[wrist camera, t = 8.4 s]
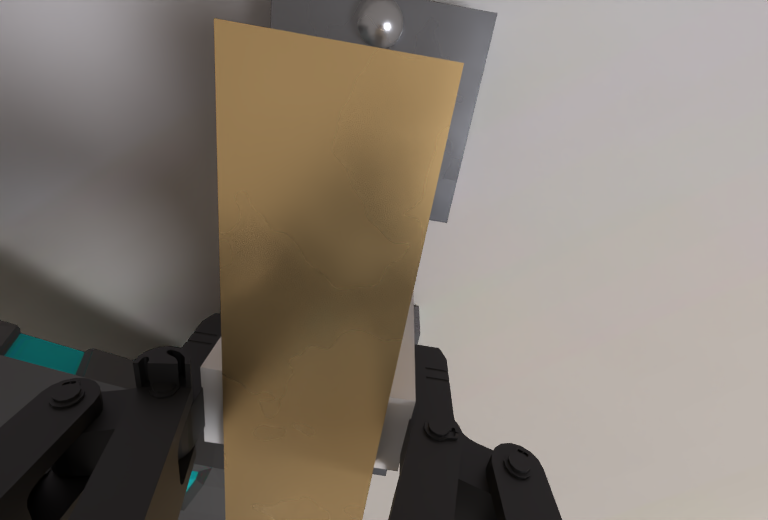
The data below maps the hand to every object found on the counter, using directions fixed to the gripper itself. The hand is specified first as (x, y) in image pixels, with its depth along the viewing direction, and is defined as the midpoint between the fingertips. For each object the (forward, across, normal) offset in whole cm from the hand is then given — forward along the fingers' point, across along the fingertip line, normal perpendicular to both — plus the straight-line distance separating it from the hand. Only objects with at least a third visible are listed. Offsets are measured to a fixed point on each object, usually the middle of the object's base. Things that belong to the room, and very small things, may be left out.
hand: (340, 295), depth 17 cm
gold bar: (+1, 0, 0) cm, 1 cm away
